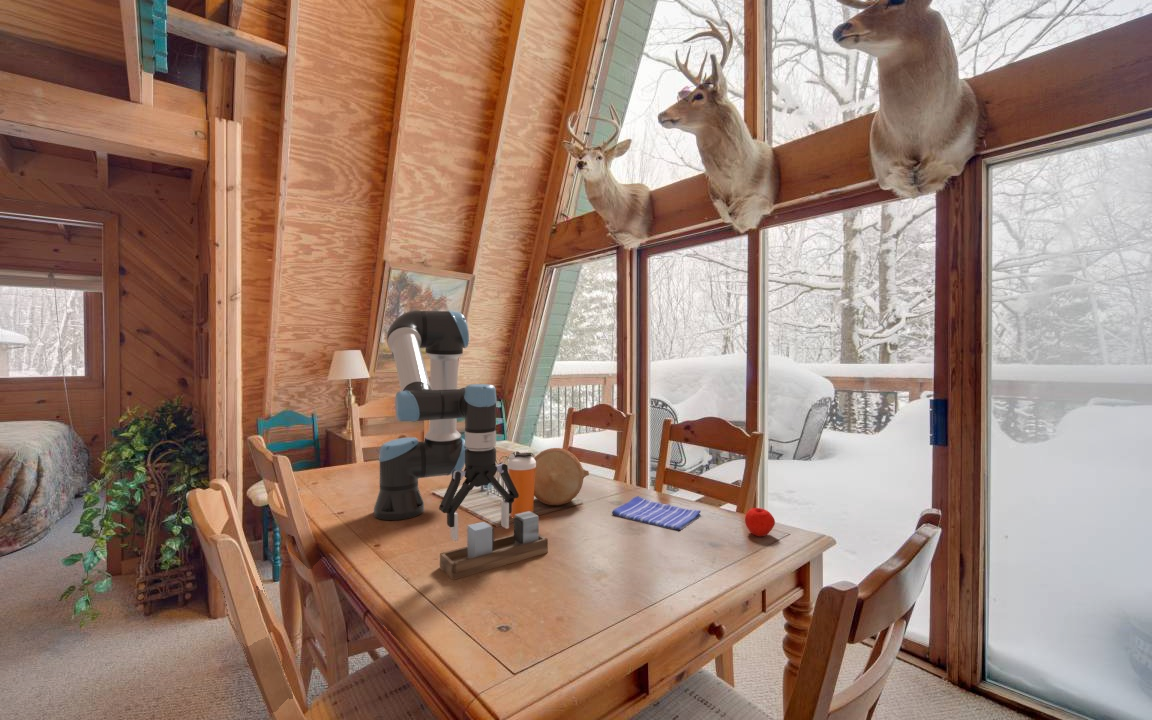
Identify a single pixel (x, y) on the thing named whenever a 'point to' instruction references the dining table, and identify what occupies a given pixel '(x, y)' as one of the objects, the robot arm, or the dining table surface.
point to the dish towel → (656, 513)
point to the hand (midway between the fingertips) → (480, 532)
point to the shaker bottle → (522, 481)
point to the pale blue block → (479, 539)
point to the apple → (759, 521)
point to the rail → (499, 549)
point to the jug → (557, 476)
